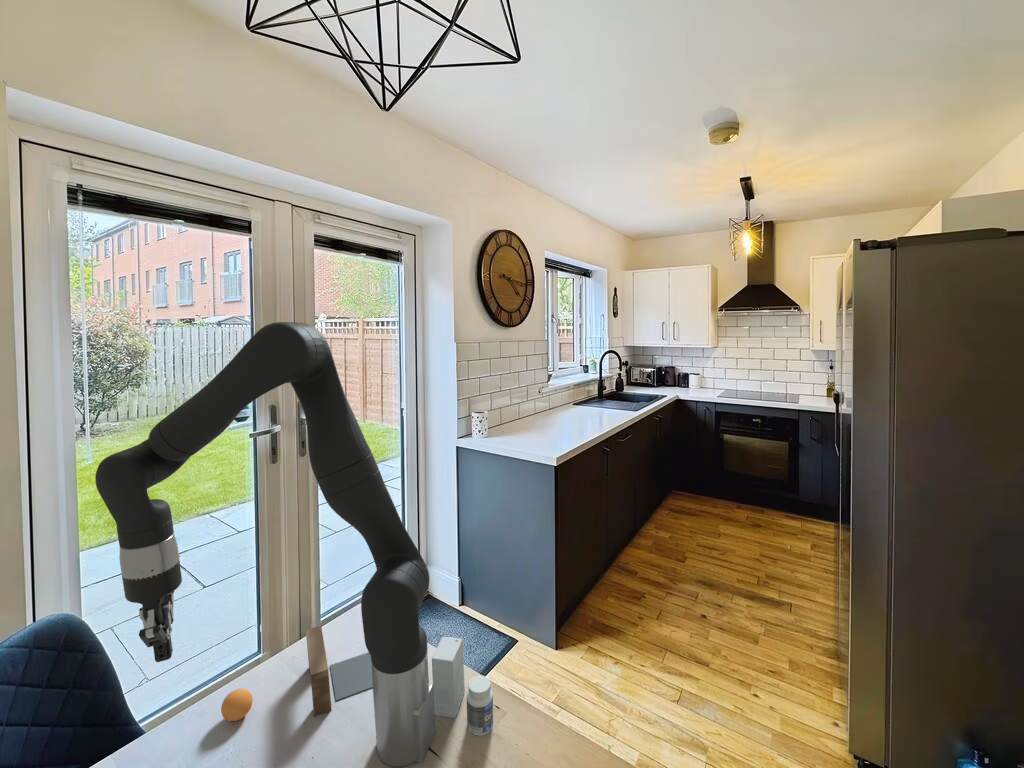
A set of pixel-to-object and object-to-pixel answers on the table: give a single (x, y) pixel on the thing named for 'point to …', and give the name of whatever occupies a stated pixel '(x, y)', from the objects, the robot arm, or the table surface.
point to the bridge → (318, 671)
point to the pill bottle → (479, 705)
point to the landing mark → (352, 676)
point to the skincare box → (448, 676)
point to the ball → (236, 704)
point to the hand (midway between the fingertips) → (164, 657)
